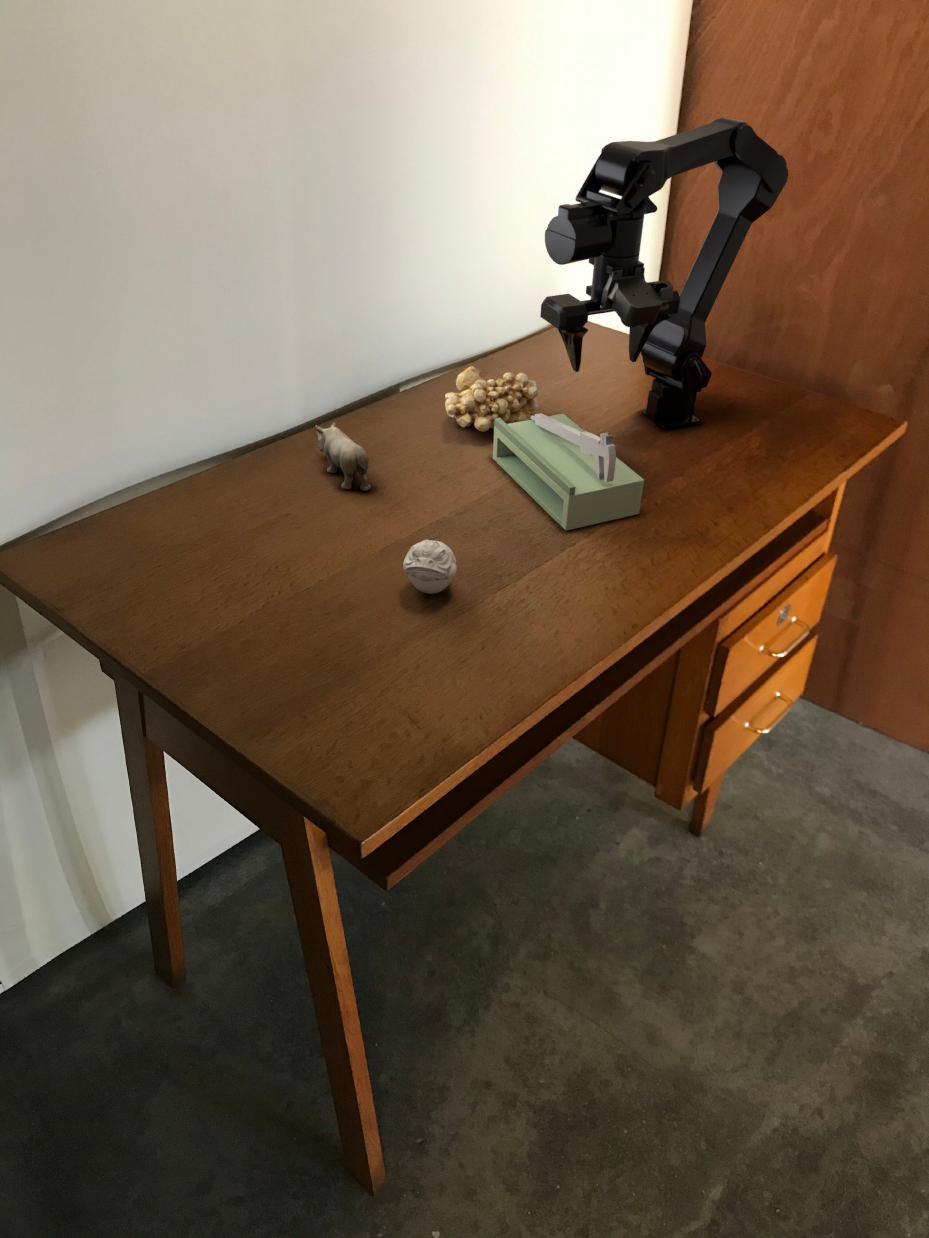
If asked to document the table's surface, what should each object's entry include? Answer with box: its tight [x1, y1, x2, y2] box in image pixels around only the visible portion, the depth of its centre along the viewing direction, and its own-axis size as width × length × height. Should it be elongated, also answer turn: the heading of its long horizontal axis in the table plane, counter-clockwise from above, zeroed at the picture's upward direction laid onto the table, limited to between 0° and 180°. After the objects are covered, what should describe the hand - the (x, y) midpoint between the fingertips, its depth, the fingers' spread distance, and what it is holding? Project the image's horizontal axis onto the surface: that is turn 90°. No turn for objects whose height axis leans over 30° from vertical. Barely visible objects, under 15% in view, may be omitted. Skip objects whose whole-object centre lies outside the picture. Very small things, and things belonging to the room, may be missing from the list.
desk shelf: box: [492, 413, 645, 531], centre depth 134 cm, size 11×21×6 cm, turn 25°
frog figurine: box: [402, 539, 458, 595], centre depth 113 cm, size 6×7×7 cm
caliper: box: [530, 412, 617, 483], centre depth 132 cm, size 20×1×6 cm, turn 25°
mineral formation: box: [444, 365, 540, 433], centre depth 148 cm, size 8×13×15 cm
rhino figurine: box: [315, 422, 371, 492], centre depth 136 cm, size 4×14×6 cm, turn 30°
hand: (604, 366), depth 139 cm, fingers open, 9 cm apart
